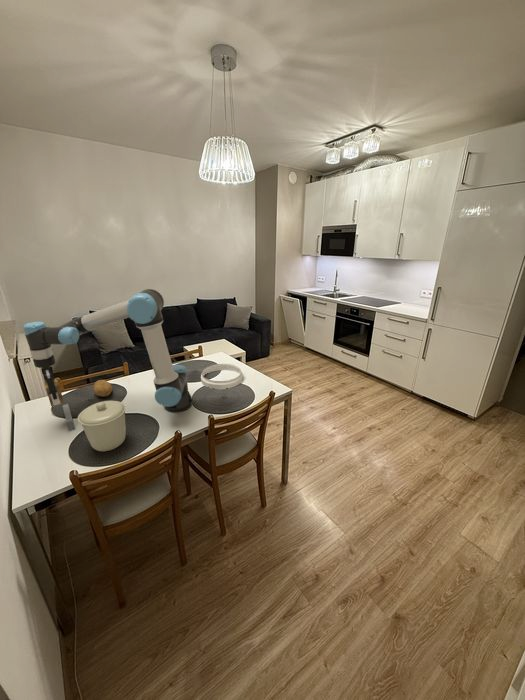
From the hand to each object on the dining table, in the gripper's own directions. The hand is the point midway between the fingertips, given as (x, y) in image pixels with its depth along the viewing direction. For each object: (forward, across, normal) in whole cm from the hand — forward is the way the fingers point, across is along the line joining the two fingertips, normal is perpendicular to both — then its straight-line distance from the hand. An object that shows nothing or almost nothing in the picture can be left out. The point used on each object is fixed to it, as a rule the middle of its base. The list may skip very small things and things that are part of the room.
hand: (56, 401), depth 133 cm
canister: (+13, -29, -15) cm, 35 cm away
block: (0, 0, 0) cm, 0 cm away
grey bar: (+13, +1, -3) cm, 13 cm away
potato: (+13, +18, -22) cm, 31 cm away
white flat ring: (+13, -6, -87) cm, 88 cm away
